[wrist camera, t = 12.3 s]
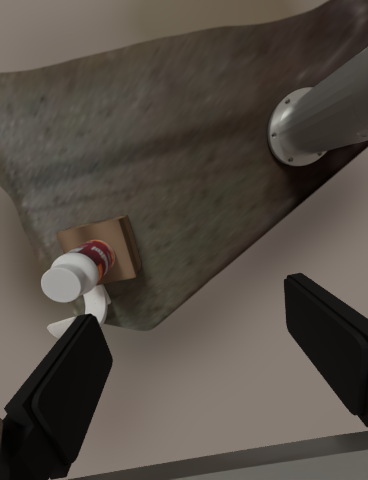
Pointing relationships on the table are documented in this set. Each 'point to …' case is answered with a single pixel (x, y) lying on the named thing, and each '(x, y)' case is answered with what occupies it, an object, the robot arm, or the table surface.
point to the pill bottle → (78, 271)
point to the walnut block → (115, 236)
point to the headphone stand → (94, 305)
